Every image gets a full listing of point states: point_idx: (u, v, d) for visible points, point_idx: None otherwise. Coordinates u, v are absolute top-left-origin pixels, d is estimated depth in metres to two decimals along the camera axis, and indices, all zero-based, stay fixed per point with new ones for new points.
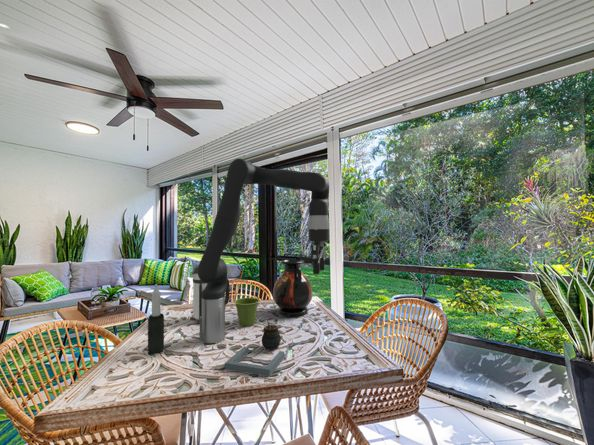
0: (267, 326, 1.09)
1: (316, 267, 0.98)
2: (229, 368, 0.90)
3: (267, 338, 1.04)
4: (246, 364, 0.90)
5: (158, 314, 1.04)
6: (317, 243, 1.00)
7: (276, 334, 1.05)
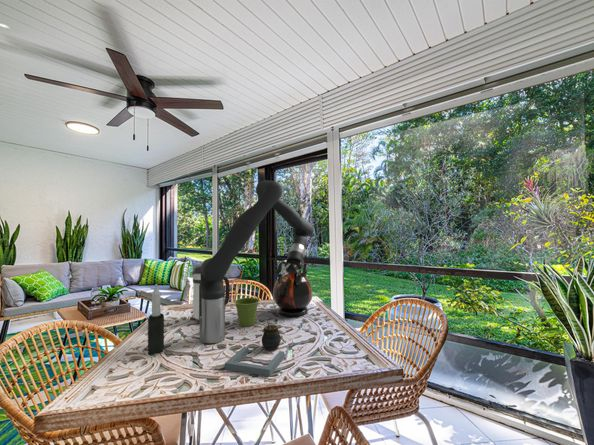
0: (267, 326, 1.09)
1: (300, 279, 1.25)
2: (229, 368, 0.90)
3: (267, 338, 1.04)
4: (246, 364, 0.90)
5: (158, 314, 1.04)
6: (301, 264, 1.32)
7: (276, 334, 1.05)
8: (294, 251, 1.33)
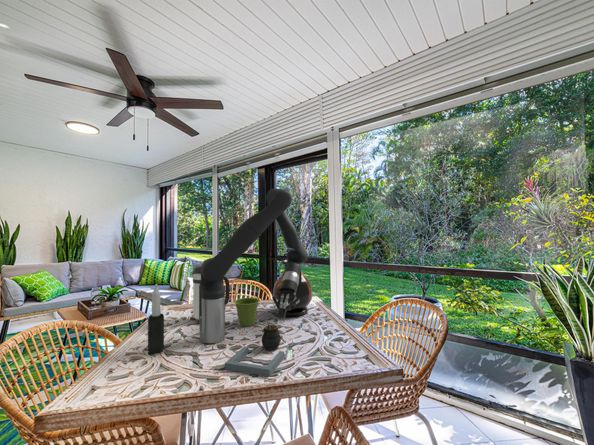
0: (267, 326, 1.09)
1: (285, 313, 1.19)
2: (229, 368, 0.90)
3: (267, 338, 1.04)
4: (246, 364, 0.90)
5: (158, 314, 1.04)
6: (295, 294, 1.25)
7: (276, 334, 1.05)
8: (287, 280, 1.27)
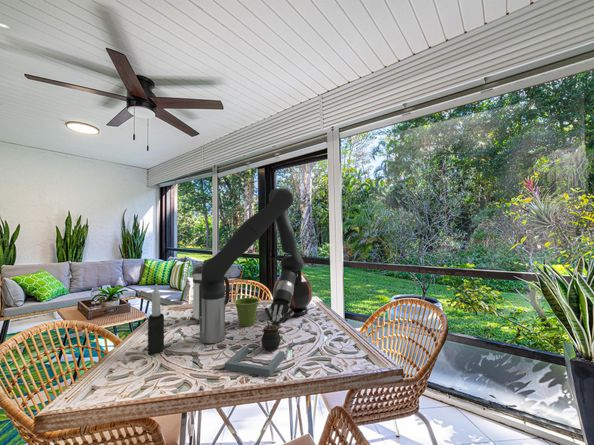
0: (267, 326, 1.08)
1: (278, 326, 1.12)
2: (229, 368, 0.90)
3: (267, 338, 1.04)
4: (246, 364, 0.90)
5: (158, 314, 1.04)
6: (289, 305, 1.17)
7: (276, 334, 1.05)
8: (281, 290, 1.19)
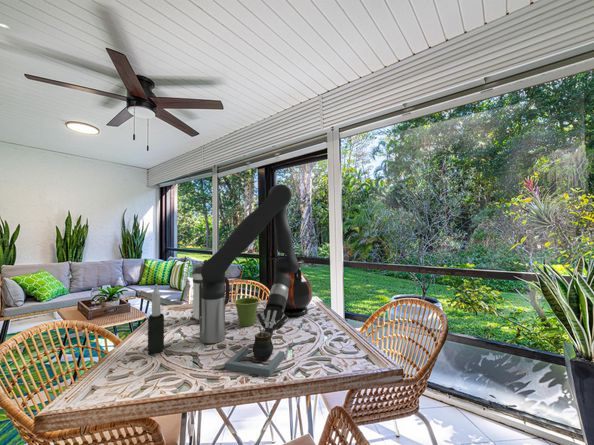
0: (259, 333, 1.01)
1: (272, 333, 1.04)
2: (229, 368, 0.90)
3: (258, 347, 0.96)
4: (246, 364, 0.90)
5: (158, 314, 1.04)
6: (283, 311, 1.10)
7: (268, 342, 0.97)
8: (275, 295, 1.11)
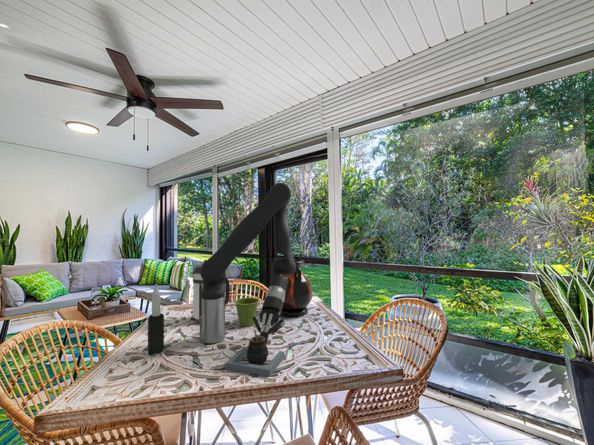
0: (254, 338, 0.97)
1: (267, 338, 1.00)
2: (229, 368, 0.90)
3: (251, 352, 0.92)
4: (246, 364, 0.90)
5: (158, 314, 1.04)
6: None
7: (262, 347, 0.93)
8: (271, 297, 1.07)
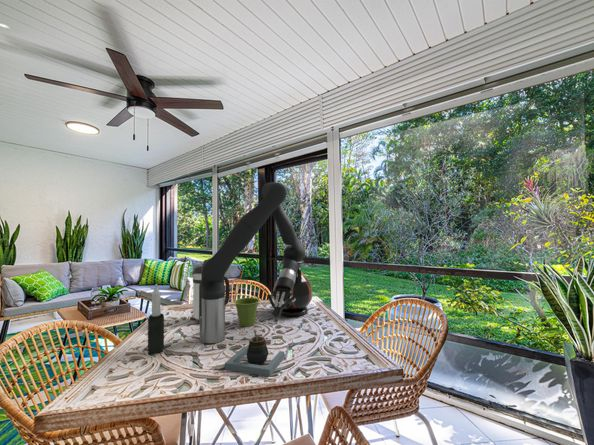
0: (254, 338, 0.97)
1: (280, 312, 1.14)
2: (229, 368, 0.90)
3: (251, 352, 0.92)
4: (246, 364, 0.90)
5: (158, 314, 1.04)
6: (291, 292, 1.20)
7: (262, 348, 0.93)
8: (283, 278, 1.22)
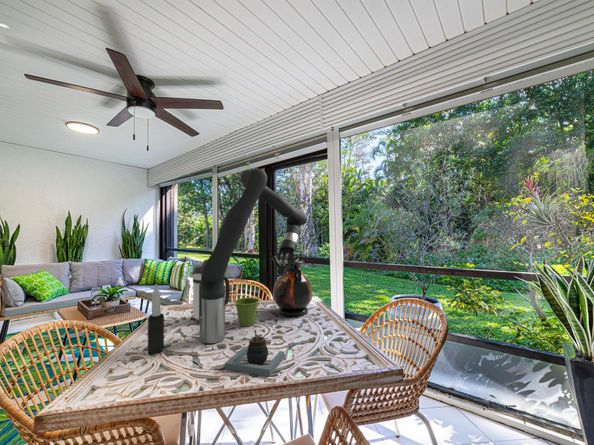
0: (254, 338, 0.97)
1: (284, 270, 1.19)
2: (229, 368, 0.90)
3: (251, 352, 0.92)
4: (246, 364, 0.90)
5: (158, 314, 1.04)
6: None
7: (262, 348, 0.93)
8: (287, 240, 1.27)
